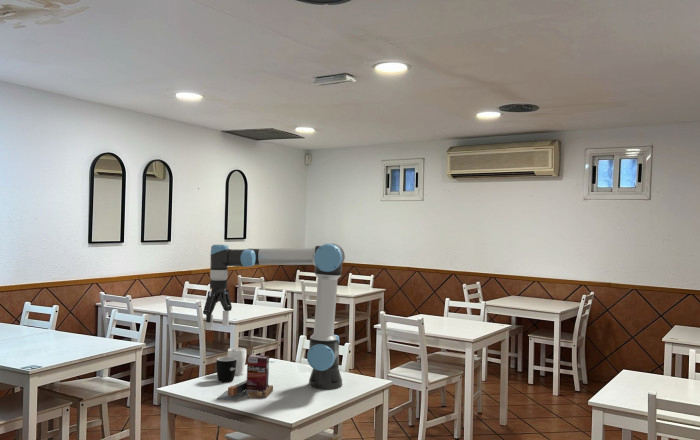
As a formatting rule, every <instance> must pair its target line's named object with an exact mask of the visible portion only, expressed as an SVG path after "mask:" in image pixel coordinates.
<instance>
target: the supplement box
mask: <svg viewBox="0 0 700 440" xmlns="http://www.w3.org/2000/svg"><path fill="white" fill-rule="evenodd" d="M246 364H247V365H246V367H247V368H246V380H247V388H246V390H245V391H246V393H245V394H246V395H249V391H256V392H262V396H263V392H264V391H265V390H266V389H267V388H268V385H269V375H270V374H269V372H270V371H269V370H270V356H269V355H254V354H253V355H252V354H250V355H249V356H248V357H247V363H246Z"/></svg>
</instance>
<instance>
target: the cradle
mask: <svg viewBox="0 0 700 440" xmlns="http://www.w3.org/2000/svg"><path fill="white" fill-rule="evenodd" d="M273 392H274V385H273V384H272V385H271V384H268V388H267V389H266V390H265V391H264V392H263V395H262V392H256V391H249V395H248V398H250V399H252V398H253V399H267V398H268V397H269V396H270V395H271V394H272V393H273Z"/></svg>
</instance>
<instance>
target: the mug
mask: <svg viewBox="0 0 700 440" xmlns="http://www.w3.org/2000/svg"><path fill="white" fill-rule="evenodd" d="M235 370H236V358H234V357H228V356H222V357H217V358H216V374H217V375H216V376H217V380H218V382H220V383H227V384H228V383H232V382H234V379H235Z"/></svg>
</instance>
